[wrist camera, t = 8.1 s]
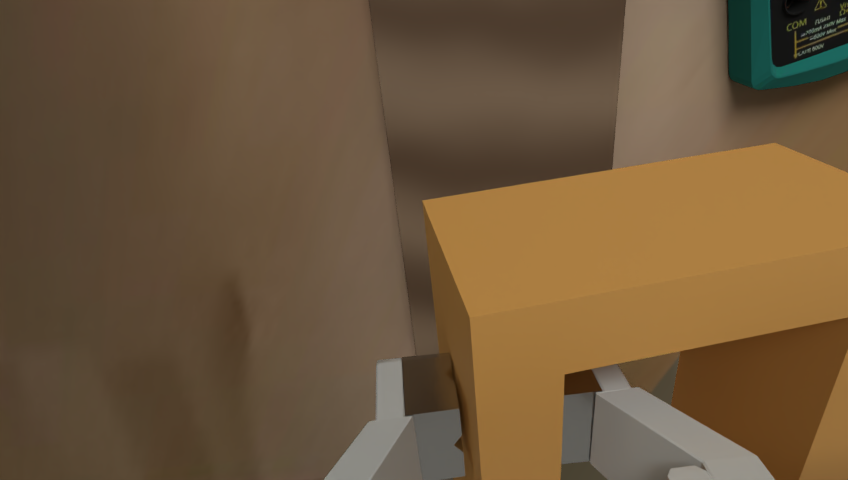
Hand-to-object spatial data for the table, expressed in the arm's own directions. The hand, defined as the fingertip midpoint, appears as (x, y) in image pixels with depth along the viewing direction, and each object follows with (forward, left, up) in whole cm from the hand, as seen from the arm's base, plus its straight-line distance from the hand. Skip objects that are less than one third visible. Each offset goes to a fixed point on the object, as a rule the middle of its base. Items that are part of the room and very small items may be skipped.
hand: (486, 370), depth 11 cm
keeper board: (+1, +3, -15) cm, 16 cm away
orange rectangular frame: (+3, +3, -2) cm, 5 cm away
